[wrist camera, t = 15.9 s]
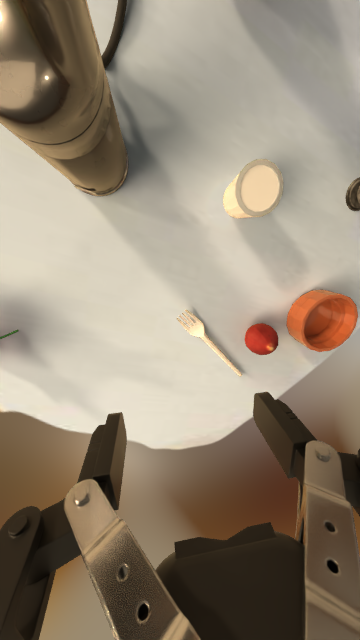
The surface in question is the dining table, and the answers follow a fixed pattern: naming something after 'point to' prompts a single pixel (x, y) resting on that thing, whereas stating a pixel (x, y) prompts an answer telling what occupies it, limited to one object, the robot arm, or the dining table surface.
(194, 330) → the fork
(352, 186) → the pawn-shaped pepper mill
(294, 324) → the bowl
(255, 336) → the onion
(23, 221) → the dining table surface
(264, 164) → the cream cylinder
